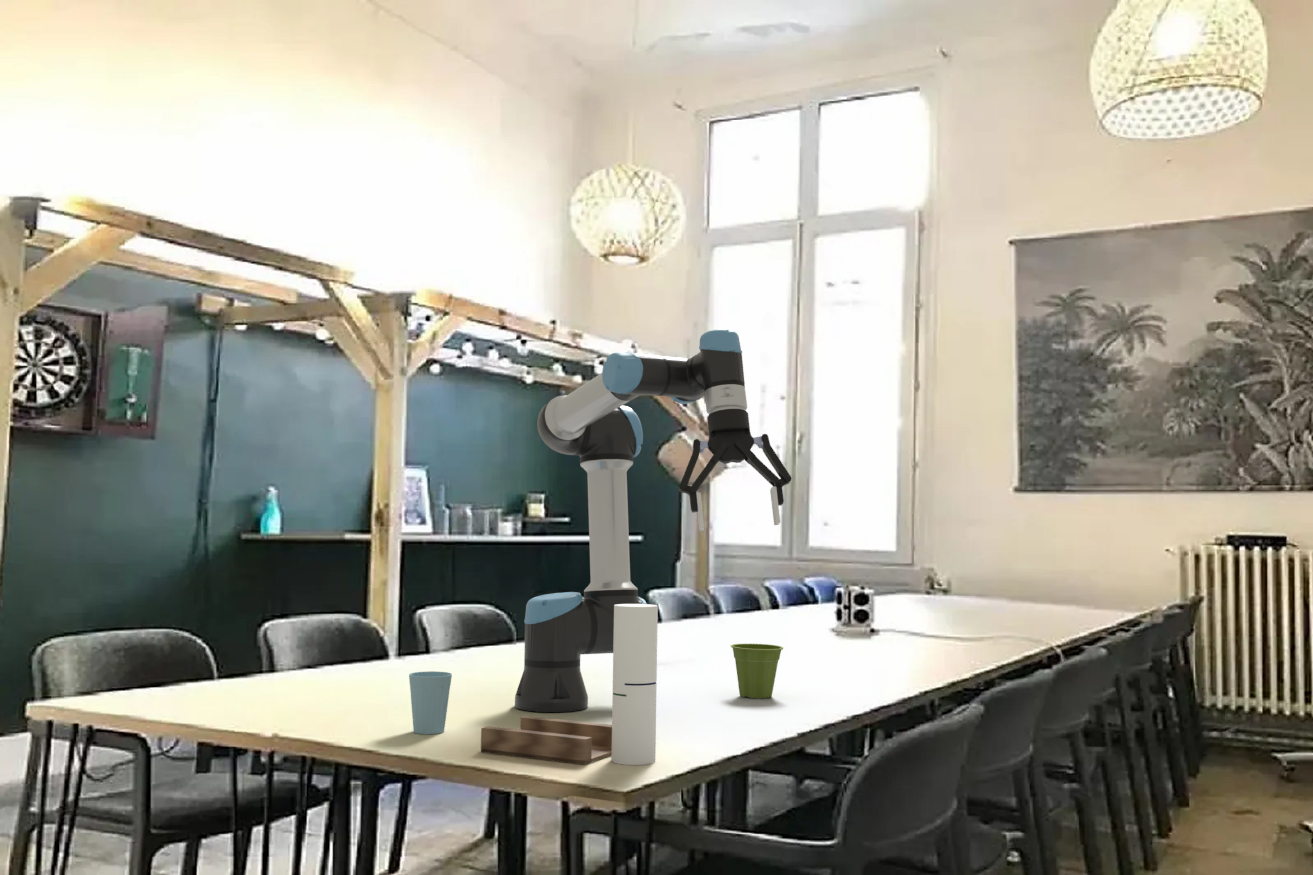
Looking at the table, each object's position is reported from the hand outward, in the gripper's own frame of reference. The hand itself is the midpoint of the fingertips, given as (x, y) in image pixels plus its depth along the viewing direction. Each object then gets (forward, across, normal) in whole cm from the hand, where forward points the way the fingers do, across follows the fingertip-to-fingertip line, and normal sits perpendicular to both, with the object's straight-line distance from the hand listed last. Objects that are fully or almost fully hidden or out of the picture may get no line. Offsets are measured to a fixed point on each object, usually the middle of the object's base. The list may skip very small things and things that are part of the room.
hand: (739, 527), depth 211 cm
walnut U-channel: (+36, -35, -2) cm, 50 cm away
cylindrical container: (+38, -22, -9) cm, 45 cm away
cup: (+30, -59, +15) cm, 68 cm away
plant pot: (+28, +7, +62) cm, 69 cm away
